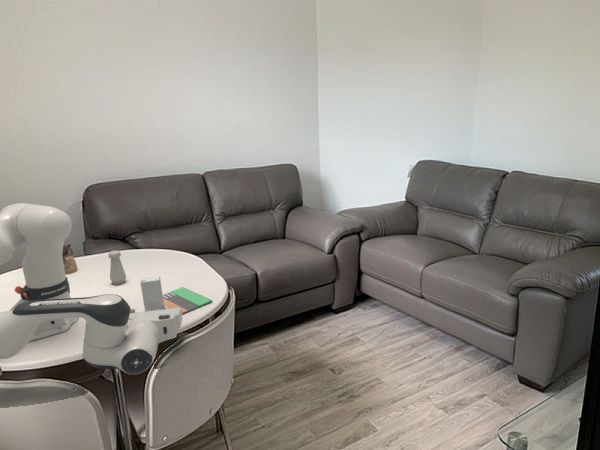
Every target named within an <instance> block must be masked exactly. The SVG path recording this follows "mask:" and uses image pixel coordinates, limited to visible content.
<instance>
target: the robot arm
mask: <svg viewBox="0 0 600 450" xmlns="http://www.w3.org/2000/svg"><path fill="white" fill-rule="evenodd" d="M72 224H73V223H72V219H71V217H70V216H69V215H68V214H67V213H66V212H65V211H63V210H61V209H58V208H57V207H54V206H51V205H43V204H34V203H33V204H32V203H28V202H27V203H26V202H20V203H13V204H9V205H6V206H5V207H3V208H2V209H1V210H0V266H1V265H3V264H5V263H6V262H8V261H9V260H11V259H12V258H13V256H14V254H15V253H14V252H15V250H17V248H19V247H20V246H21V245H23V244H24V243H26V245H27V246H26V247H27V248H26V254H25V256H24V257H23V258H22V260H21V268H22V272H23V277H24V281H25V285H24V286H23V287H21V286H20V285H17V286H16V287H15V288H14V292H15V293H16V294H18V295H20V299H19V300H18V301H17V302H16V303H15V304H14V305H13V306H12V307H11V308H10V309H9V310H7V311H0V360H5V359H10V358H12V357H14V356H16V355H18V354H19V353H20V352H22V350H24V349H25V347H27V345H28V344H29V342H32V341H36V340H40V339H43V338H46V337H51V336H53V335H57V334H61V333H64V332H67V331H69V330H70V328H71V326H72V325H73V324H75V323H76V322H77V321H78V320H79V318H80V319H84V320H85V331H84V338H83V344H82V345H83V346H82V354H81V355H82V358H83V360H84V361H85V362H86V363H87V364H89V365H90V366H92V367H94V368H97V369H100V370H115V369H116V370H117V369H120V370H121V371H122V372H124V373H125V374H127V375H139V374H142V373H144V372H146V371H147V370H148V369H149V368H150V367H151V366H152V364H154V361H155V359H156V357H157V351H158V347H159V344H160V343H163V342H165V341H166V342H167V341H168V340H172V339H176V338H177V335H178V331H179V329H180V328H181V326H182V323H183V315H182V310H181V309H180V308H171V309H169V308H168V307H167V305H164V306H162V310H154V311H146V312H145V311H140V312H139V311H138V312H136V309H135V308H131V306H130V305H129V304H128V303H129V302H127V300H125V298H123V297H122V296H121V295H118V294H115V293H114V294H113V293H110V294H100V295H95V296H94V295H93V296H83V297H71V295H70V293H71V291H70V290H71V288H70V283H69V279H68V277H67V276H66V275H65V270H64V264H63V257H62V251H63V244H64V245H65V243H64V242H65V240H66V239H67V238H68V236H69V235H70V233H71V232H72V228H73V226H72Z"/></svg>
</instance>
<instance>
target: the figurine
mask: <svg viewBox="0 0 600 450" xmlns="http://www.w3.org/2000/svg"><path fill="white" fill-rule="evenodd" d="M71 245H72V244H71V243H68V244H65V243H64V244H63V251H62V257H63V264H64V270H65V276H66V275H70V274H74V273H76V272H77V271H78V265H77V262H76V259H75V257H74V255H73V254H74V251H73V249H72V248H71V247H72V246H71ZM69 251H70V252H71V253H69Z"/></svg>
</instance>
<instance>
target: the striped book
mask: <svg viewBox="0 0 600 450" xmlns="http://www.w3.org/2000/svg"><path fill="white" fill-rule="evenodd" d="M163 301H164V305H167V307H168V308H169V309H171V308H180V309H181V310H182V316H183V315H185V314H188V313H189V312H190V313H191V312H192V311H195V310H198V309H199V308H202V307H204V306H206V305H209V304H212V303H213V300H212V299H210V298H208V297H206V296H203V295H201V294H199V293H197V292H194V291H193V290H190V289H189V288H186V287H179V288H177V289H173V290H171V291H169V292H166V293H164V294H163Z"/></svg>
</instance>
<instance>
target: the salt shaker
mask: <svg viewBox="0 0 600 450" xmlns="http://www.w3.org/2000/svg"><path fill="white" fill-rule="evenodd" d="M121 254H122V253H121V251H119V250H111V251H109V252H108V258H109V259H110V269H109V272H110V274H109V280H110V282H111V283H112V285H114V286H115V285H116V286H119V285H123V284H124V283H125V281H126V278H127V275H126V272H125V269H124V266H123V264H122V261H121V258H120V257H121V256H122V255H121Z"/></svg>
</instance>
